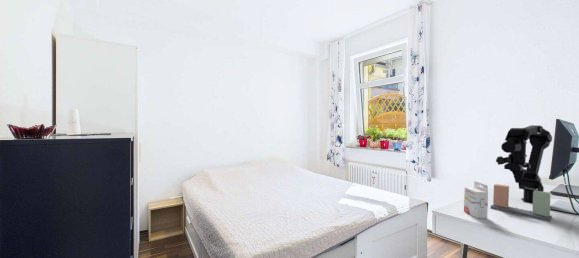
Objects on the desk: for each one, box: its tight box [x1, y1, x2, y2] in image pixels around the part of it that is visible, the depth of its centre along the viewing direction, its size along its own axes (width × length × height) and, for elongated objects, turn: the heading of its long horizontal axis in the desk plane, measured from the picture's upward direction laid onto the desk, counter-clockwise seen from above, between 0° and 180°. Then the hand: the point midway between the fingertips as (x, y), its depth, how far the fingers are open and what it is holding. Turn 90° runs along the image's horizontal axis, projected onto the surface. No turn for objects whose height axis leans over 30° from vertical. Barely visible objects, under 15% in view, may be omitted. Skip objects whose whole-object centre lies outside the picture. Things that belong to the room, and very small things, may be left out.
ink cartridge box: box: [463, 180, 489, 219], centre depth 111 cm, size 9×5×15 cm, turn 179°
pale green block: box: [531, 190, 552, 217], centre depth 110 cm, size 4×5×10 cm
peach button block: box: [492, 183, 510, 208], centre depth 121 cm, size 4×5×10 cm
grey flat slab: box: [490, 204, 553, 222], centre depth 115 cm, size 6×20×1 cm, turn 36°
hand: (517, 182), depth 126 cm, fingers closed
